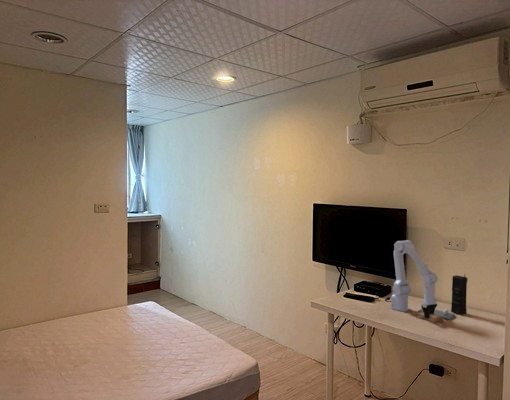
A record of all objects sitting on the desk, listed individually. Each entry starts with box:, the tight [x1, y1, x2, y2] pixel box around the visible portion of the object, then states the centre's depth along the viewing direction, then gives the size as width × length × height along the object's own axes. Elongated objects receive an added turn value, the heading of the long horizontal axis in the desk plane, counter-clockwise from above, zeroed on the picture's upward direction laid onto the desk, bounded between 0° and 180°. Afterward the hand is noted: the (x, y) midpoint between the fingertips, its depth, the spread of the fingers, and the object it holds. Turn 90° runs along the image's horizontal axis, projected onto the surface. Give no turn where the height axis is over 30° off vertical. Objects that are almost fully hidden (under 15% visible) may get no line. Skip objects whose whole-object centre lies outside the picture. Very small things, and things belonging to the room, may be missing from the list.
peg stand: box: [418, 308, 456, 321], centre depth 226 cm, size 18×10×4 cm, turn 44°
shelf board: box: [414, 310, 444, 324], centre depth 219 cm, size 14×6×3 cm, turn 44°
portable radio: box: [450, 274, 468, 316], centre depth 229 cm, size 8×6×25 cm
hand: (429, 316), depth 219 cm, fingers closed on shelf board, 5 cm apart
